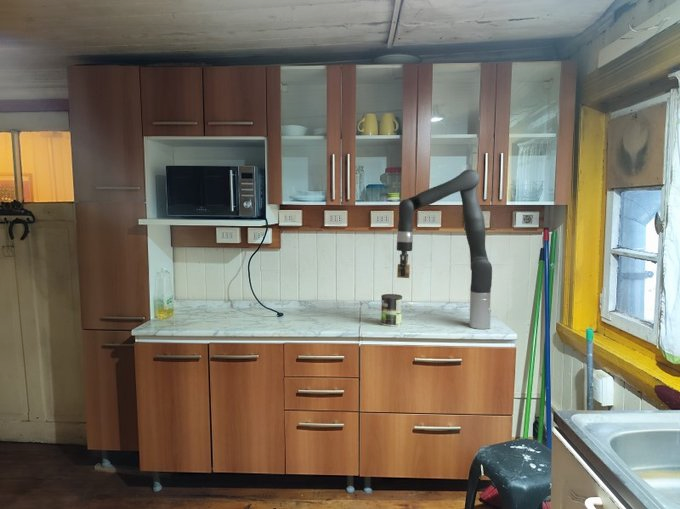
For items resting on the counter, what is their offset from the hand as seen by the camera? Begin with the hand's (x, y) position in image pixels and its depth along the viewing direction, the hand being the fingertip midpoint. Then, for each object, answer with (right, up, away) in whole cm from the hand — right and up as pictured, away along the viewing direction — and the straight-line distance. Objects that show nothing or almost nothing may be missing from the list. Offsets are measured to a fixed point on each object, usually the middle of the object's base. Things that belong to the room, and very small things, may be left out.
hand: (403, 275), depth 206 cm
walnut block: (0, -1, 0) cm, 1 cm away
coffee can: (-5, -24, +3) cm, 25 cm away
